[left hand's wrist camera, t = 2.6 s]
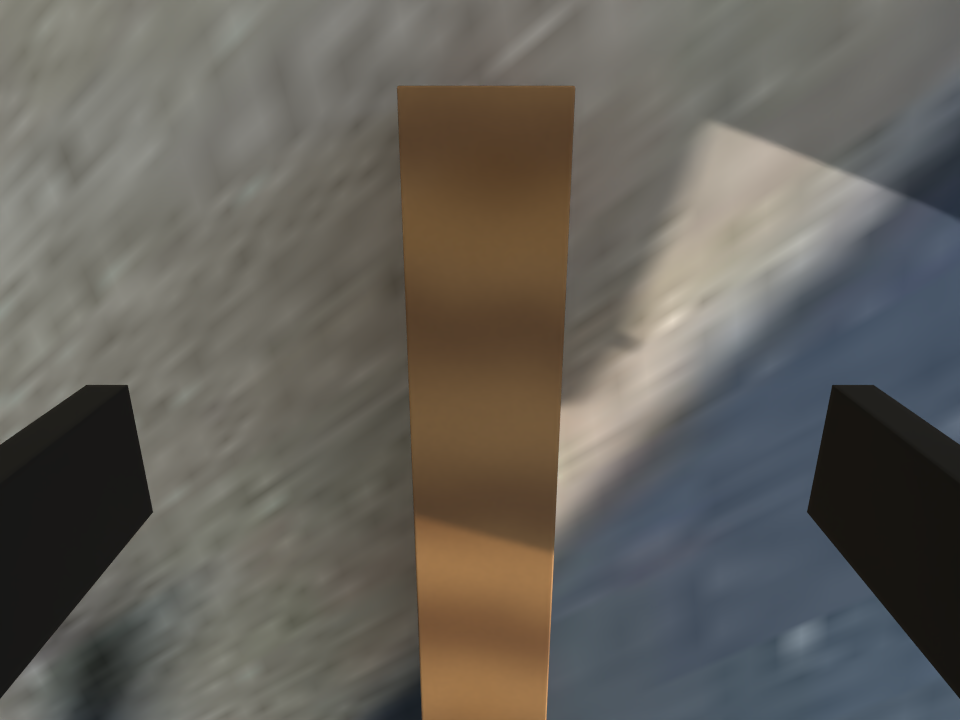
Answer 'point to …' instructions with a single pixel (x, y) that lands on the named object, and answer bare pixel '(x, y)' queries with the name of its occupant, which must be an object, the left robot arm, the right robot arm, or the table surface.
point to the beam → (485, 384)
